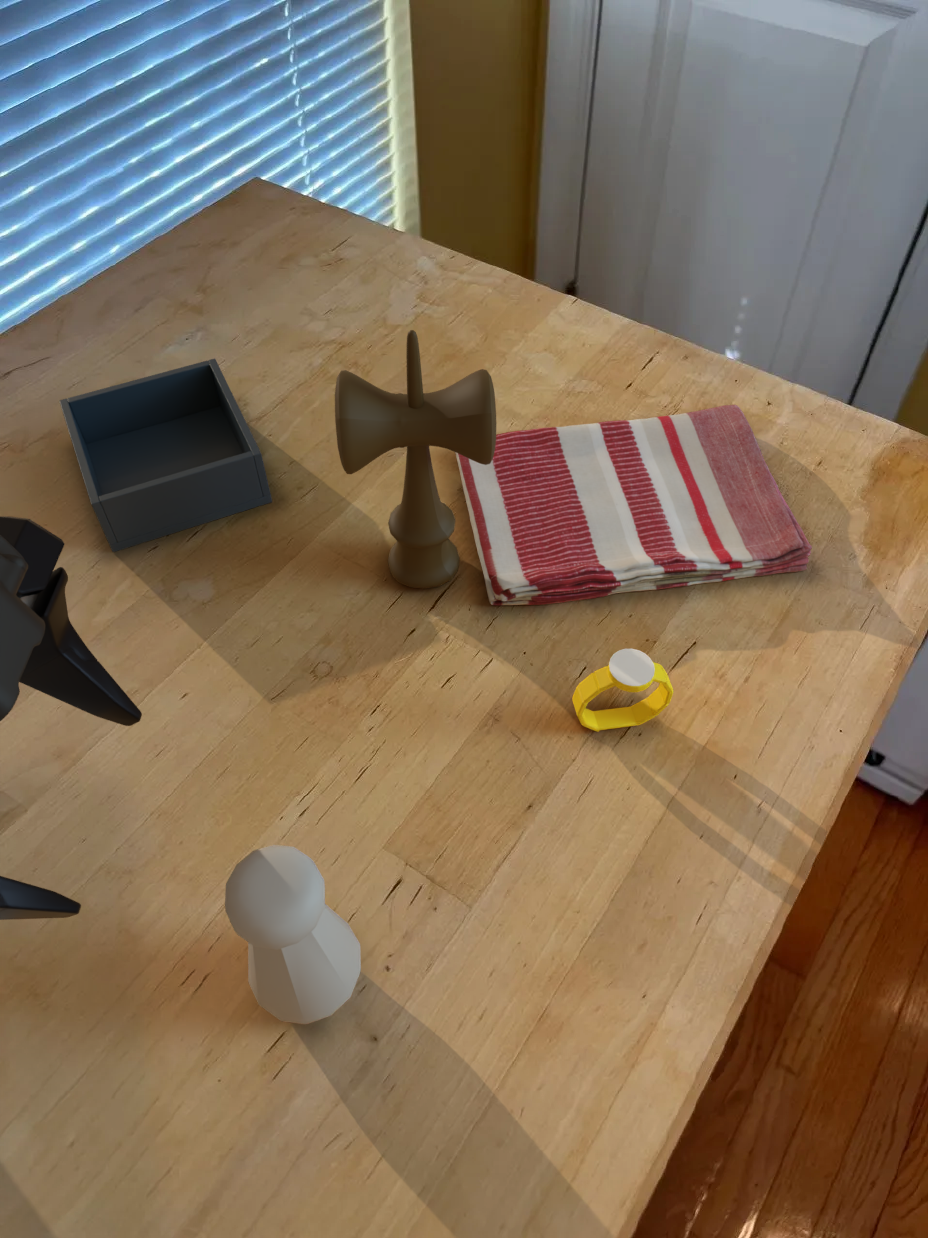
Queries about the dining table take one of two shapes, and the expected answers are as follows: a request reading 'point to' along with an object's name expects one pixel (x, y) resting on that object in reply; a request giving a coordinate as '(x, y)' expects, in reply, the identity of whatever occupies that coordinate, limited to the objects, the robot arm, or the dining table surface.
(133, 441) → the bin
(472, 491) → the dish towel
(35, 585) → the robot arm
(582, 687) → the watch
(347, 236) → the dining table surface
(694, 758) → the dining table surface
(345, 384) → the kendama
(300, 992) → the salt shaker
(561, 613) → the dining table surface
